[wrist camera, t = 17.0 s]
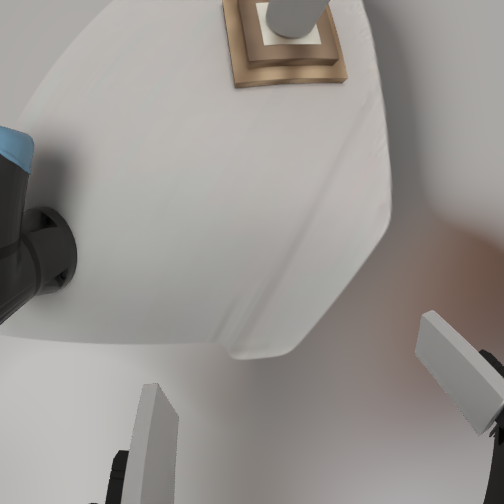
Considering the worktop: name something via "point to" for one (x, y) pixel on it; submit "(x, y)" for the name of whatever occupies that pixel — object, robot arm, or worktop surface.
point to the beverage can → (294, 16)
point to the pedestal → (280, 48)
